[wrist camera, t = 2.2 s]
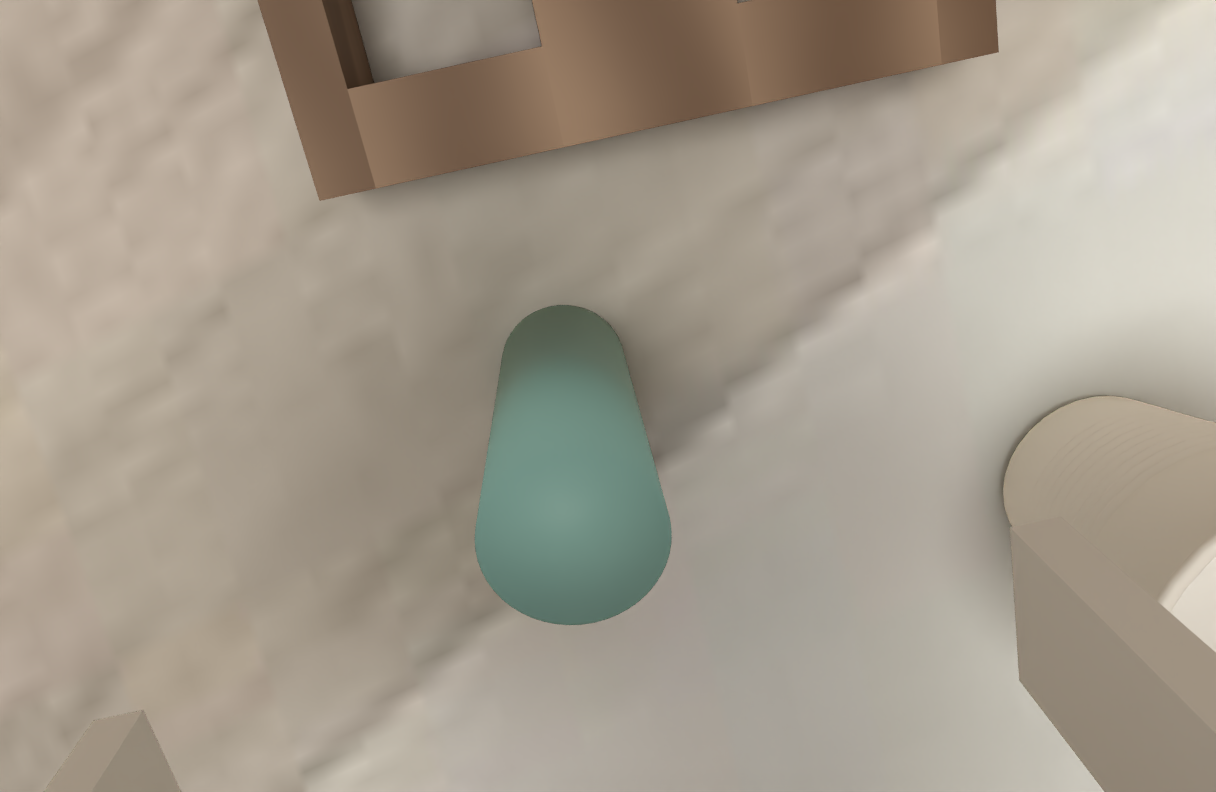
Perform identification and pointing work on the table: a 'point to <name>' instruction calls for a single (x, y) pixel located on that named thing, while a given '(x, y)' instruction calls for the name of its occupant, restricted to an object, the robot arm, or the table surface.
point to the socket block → (591, 75)
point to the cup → (1129, 495)
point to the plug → (569, 476)
